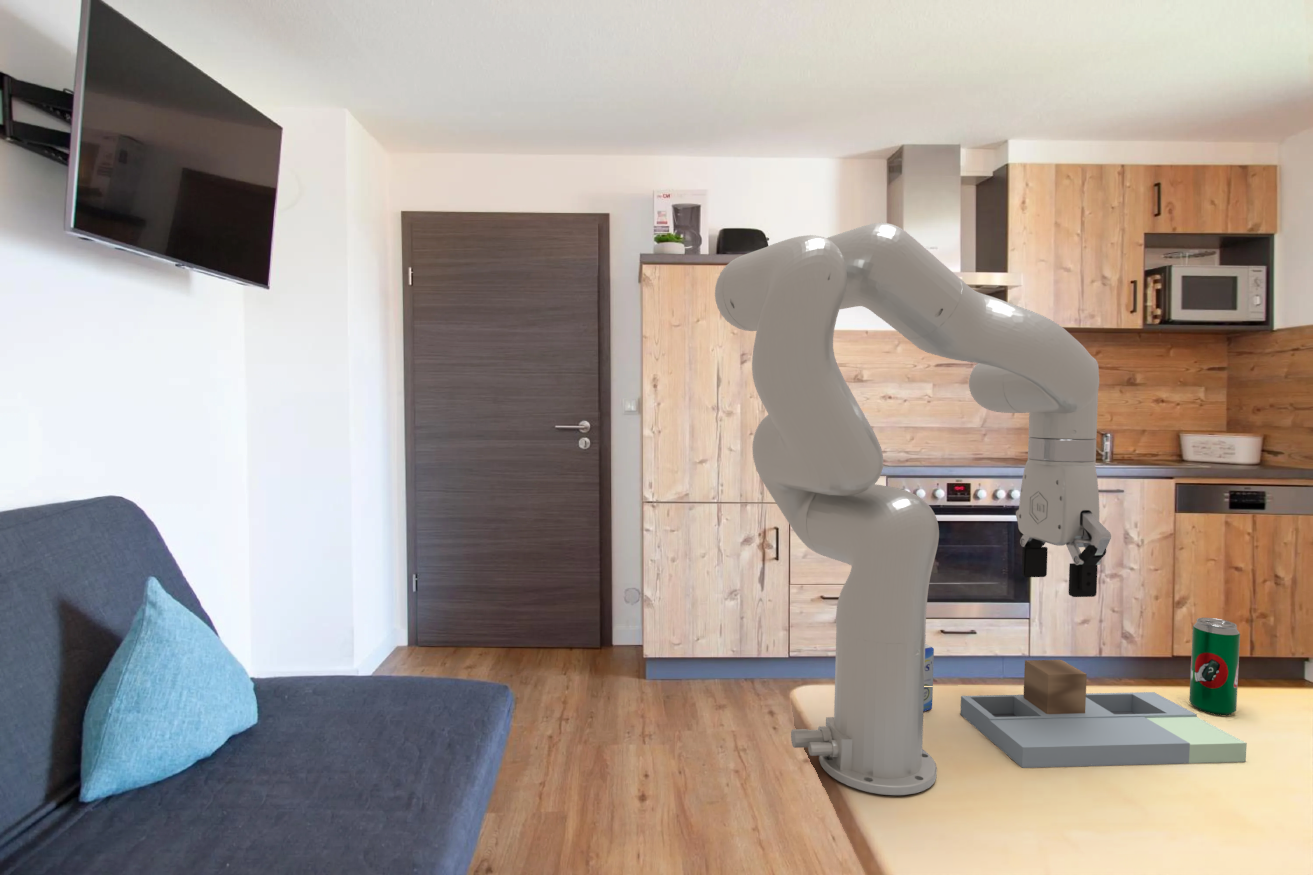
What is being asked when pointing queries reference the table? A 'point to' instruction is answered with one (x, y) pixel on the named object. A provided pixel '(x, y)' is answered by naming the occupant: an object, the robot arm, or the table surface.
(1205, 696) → the soda can
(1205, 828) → the table surface
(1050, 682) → the block
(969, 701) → the box
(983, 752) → the table surface
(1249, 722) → the table surface
